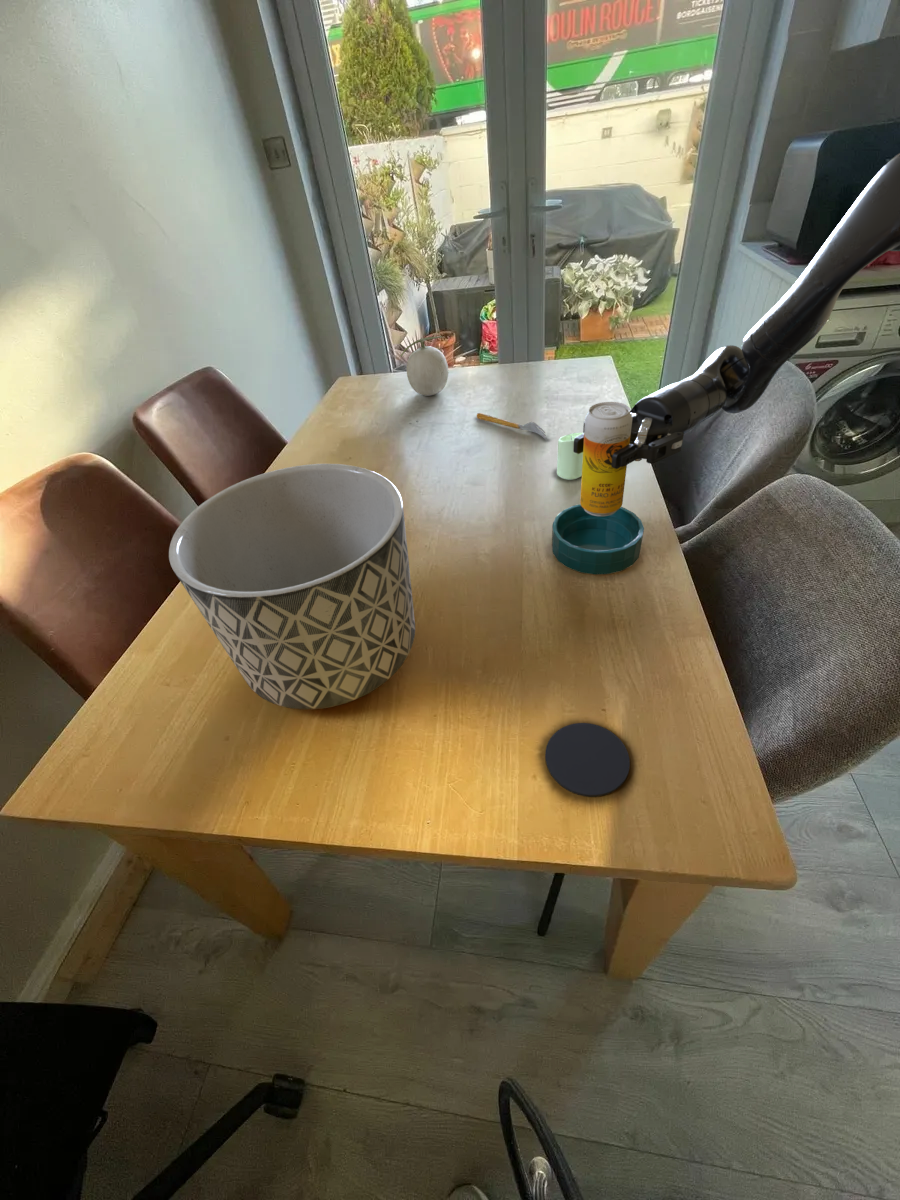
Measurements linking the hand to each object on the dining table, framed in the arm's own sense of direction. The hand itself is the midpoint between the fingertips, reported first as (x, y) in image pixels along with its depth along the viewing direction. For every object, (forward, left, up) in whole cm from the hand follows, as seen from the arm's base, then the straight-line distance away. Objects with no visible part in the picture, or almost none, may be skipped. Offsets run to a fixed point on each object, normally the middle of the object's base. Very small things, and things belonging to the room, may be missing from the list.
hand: (594, 454), depth 75 cm
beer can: (-1, -2, -10) cm, 10 cm away
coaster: (-7, +36, -18) cm, 40 cm away
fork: (+25, -43, -18) cm, 52 cm away
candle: (+8, -25, -18) cm, 32 cm away
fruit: (+52, -58, -18) cm, 80 cm away
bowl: (-1, -2, -18) cm, 18 cm away
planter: (+29, +30, -18) cm, 45 cm away
